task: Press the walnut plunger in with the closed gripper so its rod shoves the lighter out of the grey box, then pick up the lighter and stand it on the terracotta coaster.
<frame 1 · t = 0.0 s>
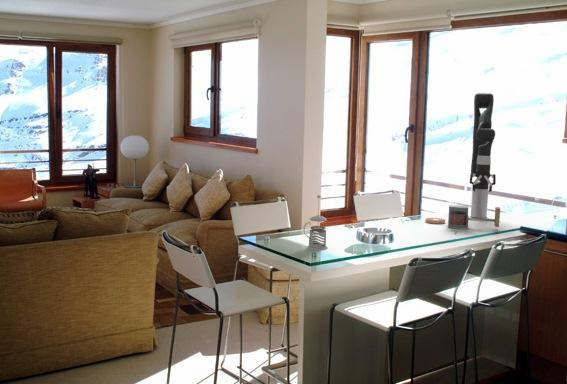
hand: (481, 191, 383), 17 cm above the table, tool pointing down, fingers open, 8 cm apart
french press: (315, 248, 312), on the table
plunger: (482, 217, 363), point 6 cm above the table, slide at 0.0 cm
coaster: (435, 222, 380), on the table
grey box: (457, 227, 367), on the table
lighter: (457, 227, 367), on the table
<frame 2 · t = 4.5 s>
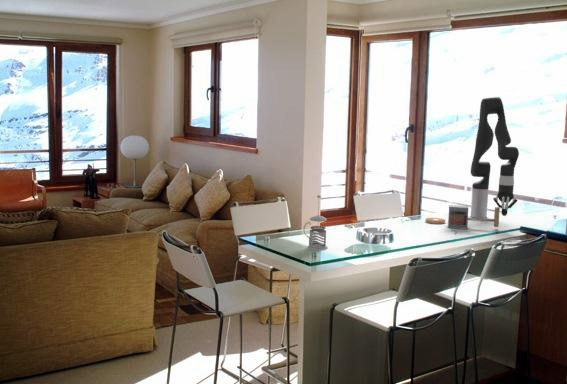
hand: (504, 215, 360), 8 cm above the table, tool pointing down, fingers closed
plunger: (482, 217, 363), point 6 cm above the table, slide at 0.3 cm, touching gripper
everything else where it was.
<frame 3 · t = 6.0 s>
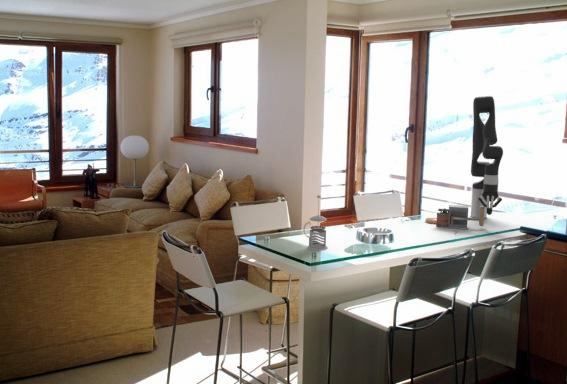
hand: (489, 214, 362), 8 cm above the table, tool pointing down, fingers closed
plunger: (467, 216, 365), point 6 cm above the table, slide at 8.1 cm, touching gripper, lighter
lighter: (443, 226, 368), on the table, touching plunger
everything else where it was.
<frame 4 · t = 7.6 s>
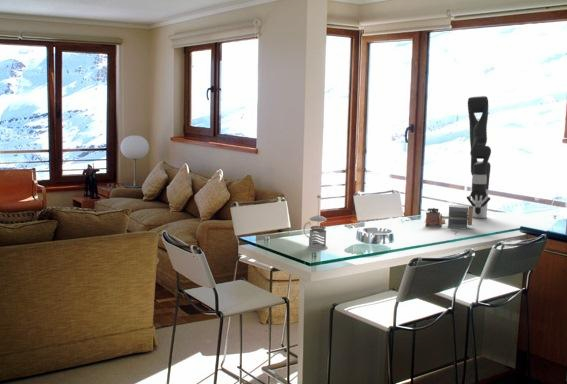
hand: (477, 213, 363), 8 cm above the table, tool pointing down, fingers closed
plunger: (456, 215, 366), point 6 cm above the table, slide at 14.1 cm, touching gripper, lighter
lighter: (432, 226, 369), on the table, touching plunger
everything else where it was.
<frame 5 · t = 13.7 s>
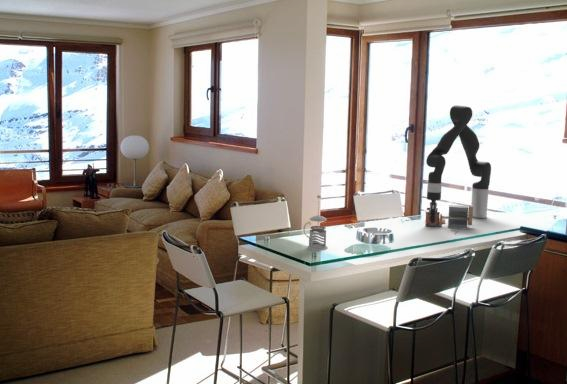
hand: (432, 221, 369), 2 cm above the table, tool pointing down, fingers closed on lighter, 4 cm apart
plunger: (456, 215, 366), point 6 cm above the table, slide at 14.0 cm
lighter: (432, 225, 369), on the table, touching gripper
everything else where it was.
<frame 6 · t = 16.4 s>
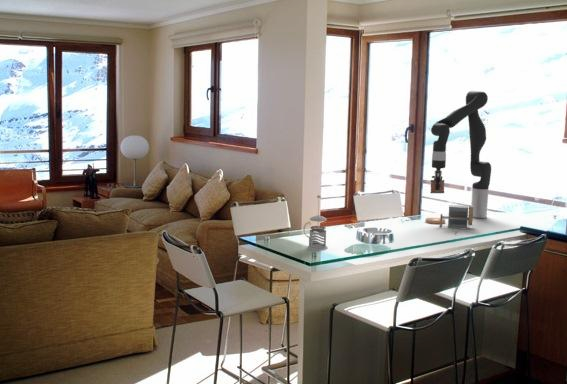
hand: (437, 189, 377), 19 cm above the table, tool pointing down, fingers closed on lighter, 4 cm apart
lighter: (437, 193, 377), point 17 cm above the table, touching gripper
everything else where it was.
when the fingers open (5 cm above the table, at t = 19.4 s): lighter drops 2 cm, resting on coaster.
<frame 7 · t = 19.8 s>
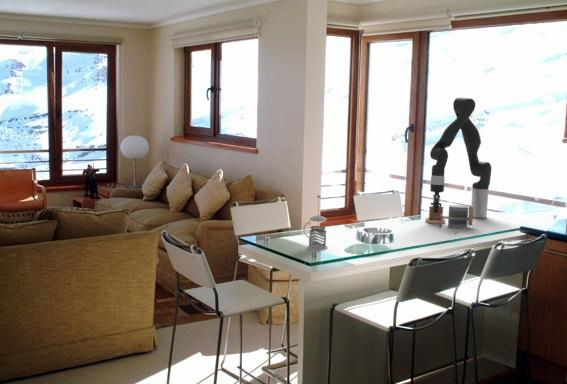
hand: (435, 211, 379), 6 cm above the table, tool pointing down, fingers open, 8 cm apart
lighter: (435, 220, 379), point 1 cm above the table, touching coaster
everything else where it was.
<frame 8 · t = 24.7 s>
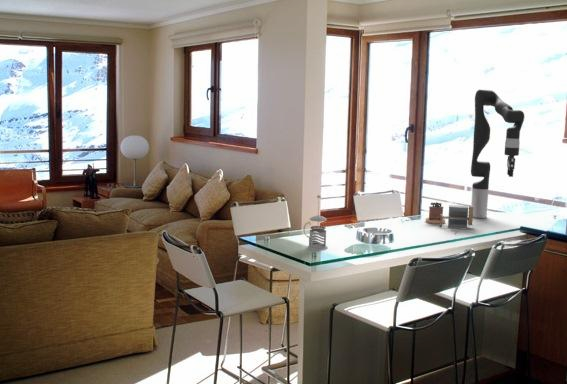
hand: (510, 175, 370), 28 cm above the table, tool pointing down, fingers open, 8 cm apart
nothing on the table moved.
at the end: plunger slide at 13.9 cm; lighter inside the target area on the coaster (1.0 cm from its centre), point 1.3 cm above the coaster's base; lighter tilted 0° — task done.
